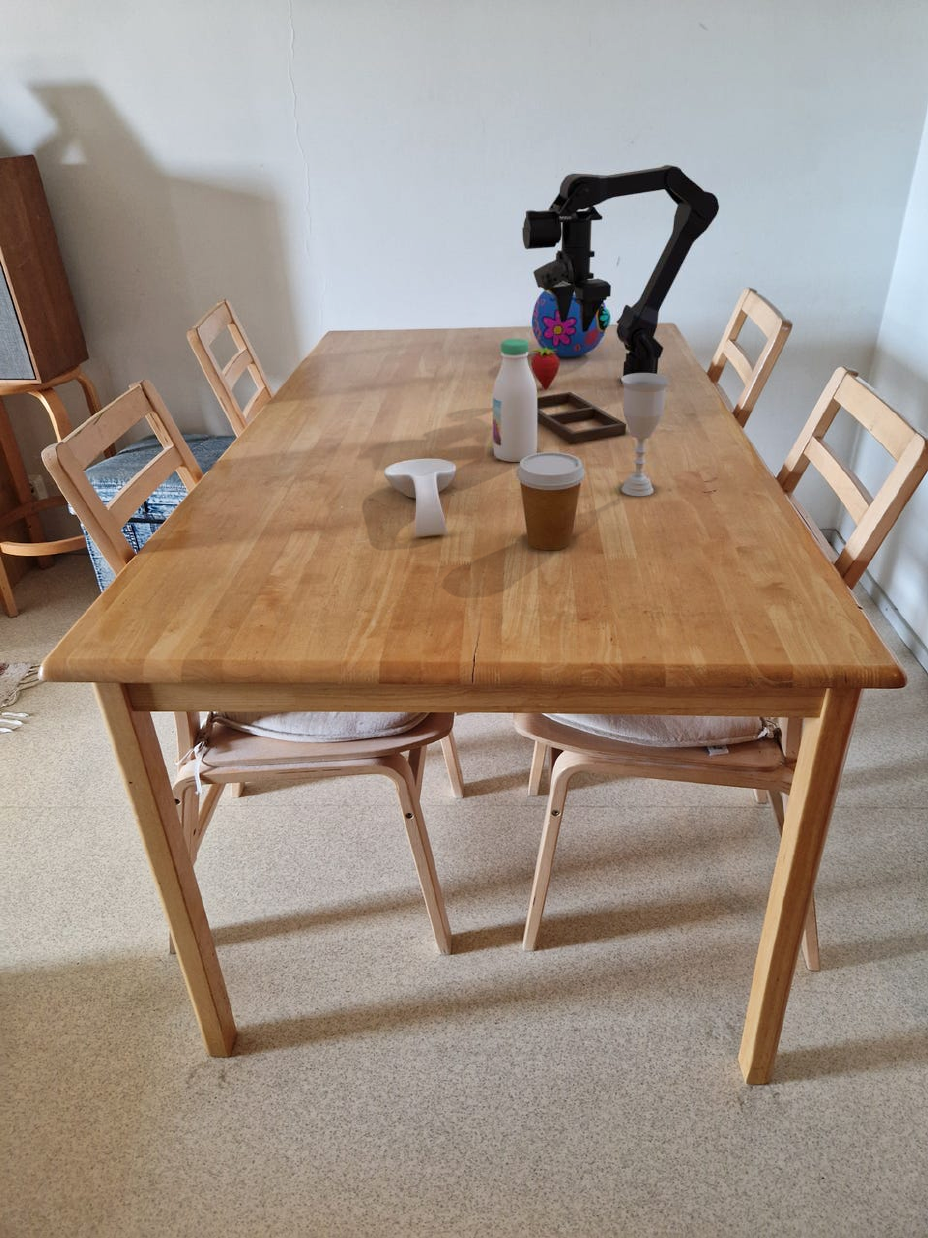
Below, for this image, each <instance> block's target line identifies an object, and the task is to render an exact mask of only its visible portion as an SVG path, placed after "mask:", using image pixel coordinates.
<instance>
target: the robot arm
mask: <svg viewBox="0 0 928 1238" xmlns="http://www.w3.org/2000/svg"><path fill="white" fill-rule="evenodd" d="M663 190H664V191H665V192H666V194H667V195H668V197H670V199H671V200H672V201H673V202H674V203H675V204H676V205H677V207H676V210H675V213H674V215H673V226H672V232H671V235H670V236H669V238H668V241H667V242H666V245H665V247H664V249H663V250H662V253H661V255H660V257H659V259H658V261H657V263H656V264H655V267H654V269H653V270H652V273H651V274H650V277H649V279H648V281H647V283H646V285H645V287H644V289H643V291H642V293H641V295H640V296H639V299H638V300H637V301H636V302H635V303H634V304H633V305H632V306H630V305H628V304H625V306H624V307H623V310H622V312H621V315H620V317H619V318H618V319H617V320H616V324H617V327H616V335H617V339H618V340H619V341H620V342H622V343H623V345H624V346H623V347H624V349H625V350H626V351H628V352H627V353H625V360H624V361H623V367H622V369H623V371H622V377H623V376H625V375H628V374H634V373H653V374H658V372H659V371H658V370H659V359H660V358H661V356H662V354H663V351H664V347H663V346H662V344H661V343H660V342H658V340H657V339H656V338H655V334H656V332H657V328H658V324H659V323H658V322H659V315H660V314H659V313H660V310H661V308H662V306H663V303H664V301H665V300H666V298H667V296H668V294H669V292H670V289H671V288H672V286H673V283H674V282H675V279H676V277H677V276H678V274H679V272H680V270H681V268H682V266H683V264H684V263H685V260H686V258H687V256H688V254H689V252H690V250H691V248H692V246H693V245H694V243H695V242H696V240H698V238H700V236H702V235H703V234H704V233H705V232H706V231H707V230H708V228H709V227H710V225H712V223H713V221H714V220H715V219H716V217H717V215H718V213H719V210H720V204H719V200H718V198H717V196H716V195H715V194H714V193H713V192H709V191H706V190H704V189H703V188H702V187H701V186H699V185H698V184H697V183H696V182H695V181H693V180H692V179H691V178H690V177H688V176H687V175H686V174H685V172H683V170H682V169H681V168H680V167H678V166H677V165H671V164H665V165H663V166H660V167H653V168H646V169H641V170H635V171H628V172H622V173H614V174H608V175H601V174H593V173H592V174H591V173H570V174H567V175H566V176H565V177H564V179H563V180H562V181H561V183H560V186H559V192H558V194H557V196H556V197H555V198H554V200H553V202H551V204H550V206H549V208H548V210H546V209H545V210H534V209H530V210H526V211H525V218H524V221H523V227H522V229H521V230H522V234H521V235H522V243H523V246H524V249H525V250H530V249H531V250H533V249H534V250H535V249H547V248H548V249H549V248H555V247H556V245H557V244H559V243H560V242H561V250H557V252H556V253H555V260H552V261H549V262H547V263H546V264H544V265H542V266H539V267H538V268H536V269H534V270H533V276H534V280H535V283H536V286H537V288H539V289H540V288H541V289H543V291H544V290H548V291H549V292H551V293H552V294H553V296H554V299H555V303H556V306H557V310H558V314H559V318H560V321H561V322H566V320H567V317H568V314H569V310H570V306H571V302H572V298H573V294H574V292H575V295H576V297H577V298H574V300H575V301H576V302H577V303H578V304H579V305H580V316H581V328H582V332H587V331H588V329H589V327H590V325H591V323H592V321H593V319H594V317H595V315H596V313H597V311H598V310H599V308H600V306H601V305H602V303H603V301H604V302H605V301H607V299H608V298H609V297H611V291H612V285H611V284H610V283H609V282H608V281H607V280H603V279H601V278H594V277H595V273H593V272H592V271H591V258H595V255H596V254H595V253H596V252H595V251H594V250H592V249H591V247H592V222H593V221H602V220H603V219H604V218H603V215H601V214H600V213H599V212H598V210H597V209H596V206H597V205H600V204H602V203H604V202H605V201H607V200H610V199H613V198H618V197H625V196H632V195H639V194H643V193H652V192H657V191H658V192H659V191H663ZM619 381H621V378H620V380H619Z"/></svg>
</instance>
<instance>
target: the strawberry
mask: <svg viewBox="0 0 928 1238" xmlns="http://www.w3.org/2000/svg"><path fill="white" fill-rule="evenodd" d="M541 342H542V341H541ZM542 343H543V342H542ZM543 344H544V343H543ZM544 345H545V344H544ZM545 346H546V345H545ZM553 351H556V350H549V349H547V348H545V349H543V348H542V349H533V350H531V352H534V353H535V354H534V355H533V357H532V358H531V369H532V374H534V376H535V378H536V379H537V381H538V382H539V384H540V385H541V387H542V388H543V389H545V390H547V389H549V388H550V387H551V385H552V383H553V382H554V380H555V378H556V376H557V375H558V372H559V368H560V358H559V356H557V355H555V354H553V353H555V352H553Z"/></svg>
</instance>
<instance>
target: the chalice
mask: <svg viewBox="0 0 928 1238" xmlns="http://www.w3.org/2000/svg"><path fill="white" fill-rule="evenodd" d="M620 379H621V380H620V381H621V383H622V386H623V403H622V412H623V416H624V420H625V424H626V426H627V428H628V429H629V432H630V434H631V436H632V438H634V439H636V440H637V445H636V448H635V449H634V451H635V453H636V457H635V459H634V460H633V463H634V465H635V470H634V471H633V473H631V474H630V475H629V476H627V478H626V481H625V482H624V485H623V486H622V487H621V492H622V493H623V494H625V495H628V496H632V497H646V496H650V495H652V494H653V493H654V488H653V486H652V483H651V478H649V476H648V475H647V474H645V473H644V472H643V466H644V465H645V463H646V460H645V459H644V455H645V452H646V451H647V450H646V448H645V441H646V439H649V438H651V437H652V435H653V434H654V432H655V430H656V429H657V428H658V425H660V423H661V422H660V421H661V419H662V417H663V415H664V413H665V401H666V391H667V390H666V389H667V387H668V385H669V383H670V382H671V379H670V378H669V377H668V376H666V375H663V374H658V373H657V374H653V373H634V374H628V375H625V376H623V375H622V376H621V377H620Z"/></svg>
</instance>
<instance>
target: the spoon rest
mask: <svg viewBox="0 0 928 1238" xmlns="http://www.w3.org/2000/svg"><path fill="white" fill-rule="evenodd" d="M456 472H457V465H456V464H455V463H453V462H451V461H449V460H446V459H441V458H418V459H417V458H416V459H408V460H404V461H399V462H396V463H393V464H391V465H389V466H387V467H386V468H385V469H384V471H383V474H384V475H383V476H384V477H385V479H386V480H387V482H388V483H389V484H390V485H391V486H392V487H393V488H394V489H395V490H397V491H399V492H400V493H402V494H403V495H404V496H406V497H407V498H410V499H415V514H414V515H415V517H414V535H415V536H416V537H425V536H437V535H438V536H439V535H444V534H446V533H448V532H447V525H446V520H445V515H444V512H443V509H442V504H441V500H440V496H439V493H440V492H442V491H443V490H445V488H447V487H448V486H449V485H450V484H451V482H452V480H453V479H454V477H455V474H456Z"/></svg>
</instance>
